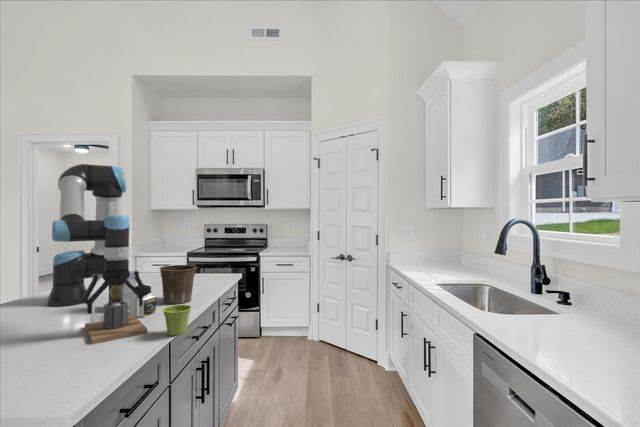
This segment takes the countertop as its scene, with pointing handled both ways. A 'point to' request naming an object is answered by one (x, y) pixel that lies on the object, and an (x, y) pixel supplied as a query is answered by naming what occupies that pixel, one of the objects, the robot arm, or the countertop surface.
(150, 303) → the medicine bottle
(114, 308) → the knob
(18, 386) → the countertop surface
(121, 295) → the coffee box
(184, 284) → the plant pot
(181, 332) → the plant pot
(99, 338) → the board
